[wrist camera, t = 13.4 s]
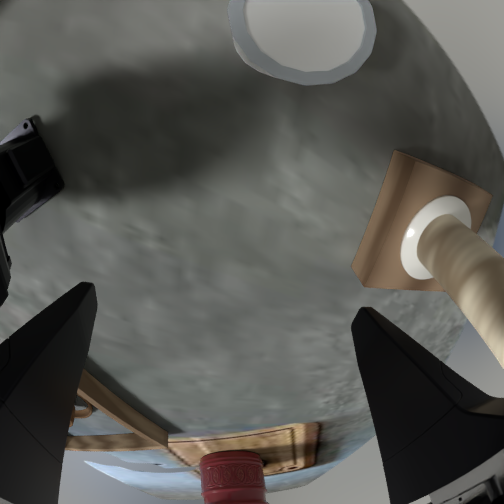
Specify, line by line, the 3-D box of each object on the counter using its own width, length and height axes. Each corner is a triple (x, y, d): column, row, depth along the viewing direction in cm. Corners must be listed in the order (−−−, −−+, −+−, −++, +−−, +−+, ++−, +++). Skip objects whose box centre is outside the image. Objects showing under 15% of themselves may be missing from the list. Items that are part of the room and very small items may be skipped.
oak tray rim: (67, 438, 43) (65, 450, 40) (-31, 361, 29) (-37, 374, 26) (168, 432, 40) (167, 447, 38) (46, 332, 26) (38, 352, 24)
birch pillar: (430, 274, 23) (512, 383, 12) (407, 247, 21) (506, 373, 10) (466, 235, 21) (559, 332, 10) (447, 202, 19) (564, 307, 8)
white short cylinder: (341, 22, 15) (396, 5, 9) (301, 101, 18) (342, 112, 12) (249, -21, 13) (267, -65, 7) (205, 61, 16) (200, 48, 10)
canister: (215, 446, 45) (223, 532, 30) (273, 451, 50) (287, 526, 35) (189, 463, 50) (193, 534, 35) (241, 468, 55) (250, 533, 40)
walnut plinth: (350, 266, 26) (365, 290, 23) (394, 149, 20) (418, 162, 17) (431, 274, 28) (448, 294, 25) (473, 183, 22) (495, 197, 20)
